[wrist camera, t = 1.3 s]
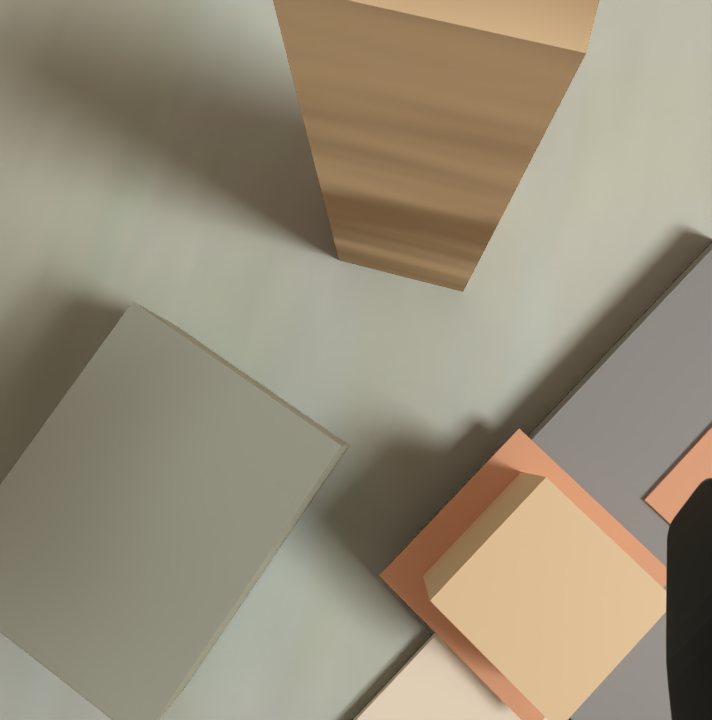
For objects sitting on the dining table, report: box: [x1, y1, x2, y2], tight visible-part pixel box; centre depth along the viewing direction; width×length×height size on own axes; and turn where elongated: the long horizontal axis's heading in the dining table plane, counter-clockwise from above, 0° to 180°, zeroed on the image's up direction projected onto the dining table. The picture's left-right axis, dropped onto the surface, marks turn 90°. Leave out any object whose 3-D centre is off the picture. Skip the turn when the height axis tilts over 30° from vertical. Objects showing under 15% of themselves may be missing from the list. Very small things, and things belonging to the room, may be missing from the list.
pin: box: [273, 0, 599, 291], centre depth 15 cm, size 4×4×13 cm
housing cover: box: [0, 302, 349, 720], centre depth 19 cm, size 9×7×4 cm
